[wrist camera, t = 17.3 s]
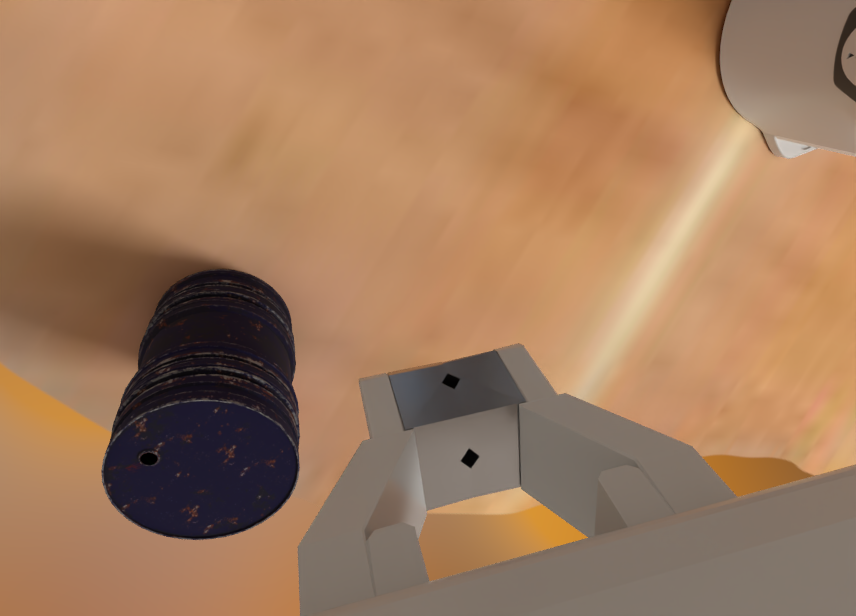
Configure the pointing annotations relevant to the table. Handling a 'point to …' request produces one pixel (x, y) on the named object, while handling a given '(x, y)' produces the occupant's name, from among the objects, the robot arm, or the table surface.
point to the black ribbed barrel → (208, 412)
